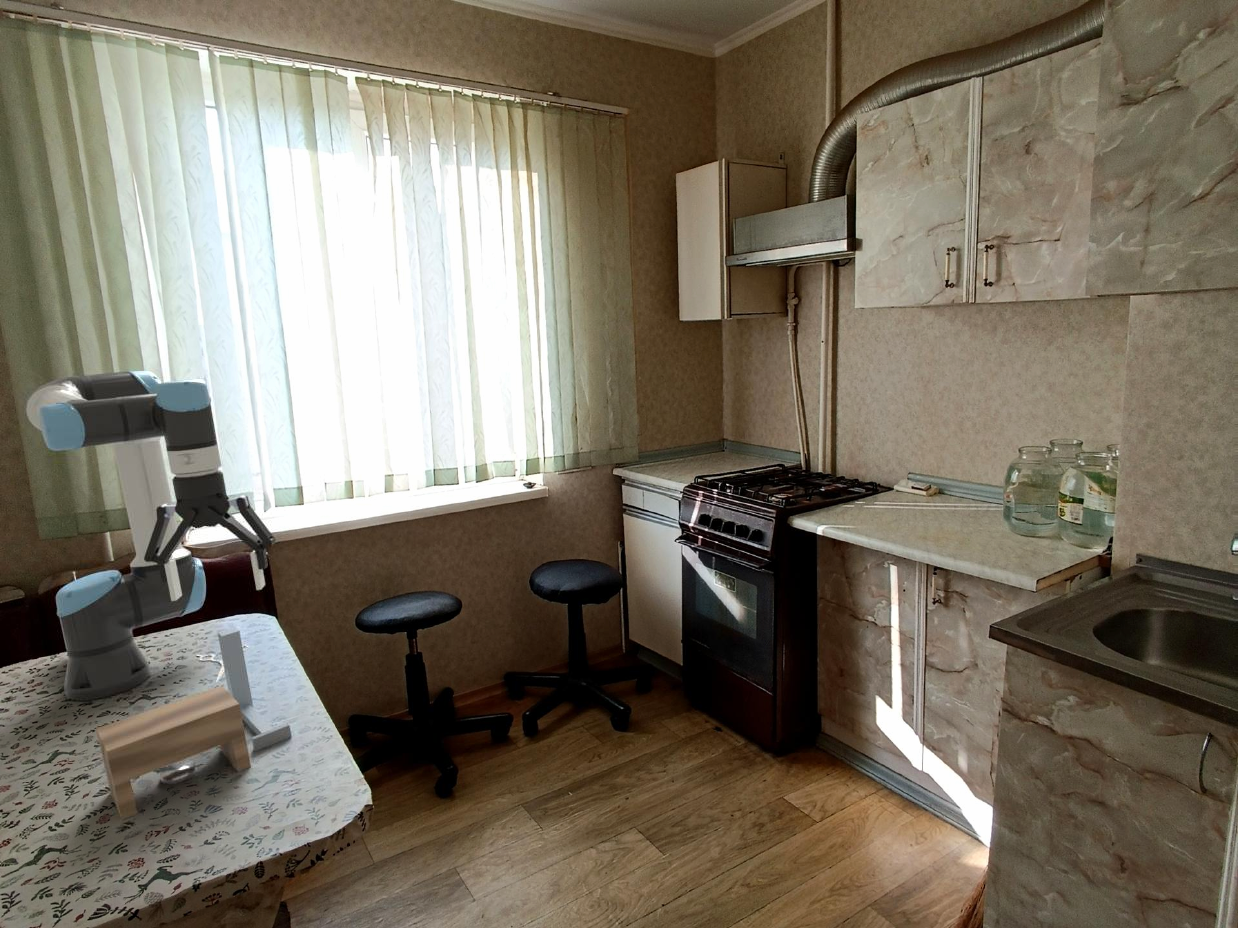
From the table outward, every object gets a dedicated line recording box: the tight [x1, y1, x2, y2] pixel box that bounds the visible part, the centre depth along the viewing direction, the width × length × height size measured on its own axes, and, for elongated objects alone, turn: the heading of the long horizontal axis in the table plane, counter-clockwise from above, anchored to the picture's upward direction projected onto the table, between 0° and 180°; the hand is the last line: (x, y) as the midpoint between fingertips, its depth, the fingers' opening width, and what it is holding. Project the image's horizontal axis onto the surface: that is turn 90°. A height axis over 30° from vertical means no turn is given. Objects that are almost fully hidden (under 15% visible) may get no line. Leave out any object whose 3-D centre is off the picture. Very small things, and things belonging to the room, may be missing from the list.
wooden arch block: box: [95, 685, 252, 821], centre depth 120 cm, size 10×18×11 cm, turn 132°
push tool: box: [216, 626, 292, 752], centre depth 135 cm, size 19×6×16 cm, turn 42°
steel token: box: [159, 759, 197, 785], centre depth 122 cm, size 5×5×1 cm
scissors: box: [196, 644, 249, 683], centre depth 166 cm, size 11×1×20 cm
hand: (219, 592), depth 131 cm, fingers open, 13 cm apart
